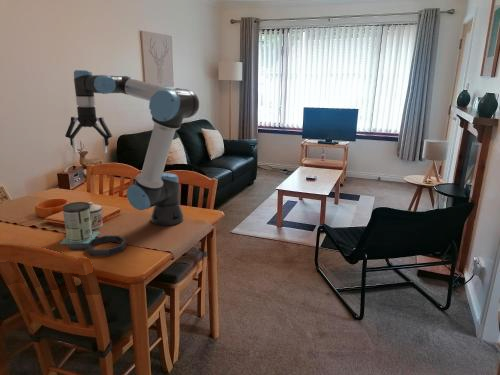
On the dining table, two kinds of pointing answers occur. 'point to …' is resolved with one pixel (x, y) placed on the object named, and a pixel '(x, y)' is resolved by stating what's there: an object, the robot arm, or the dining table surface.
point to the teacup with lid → (96, 216)
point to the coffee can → (77, 221)
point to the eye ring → (98, 241)
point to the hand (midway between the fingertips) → (90, 152)
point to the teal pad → (80, 242)
